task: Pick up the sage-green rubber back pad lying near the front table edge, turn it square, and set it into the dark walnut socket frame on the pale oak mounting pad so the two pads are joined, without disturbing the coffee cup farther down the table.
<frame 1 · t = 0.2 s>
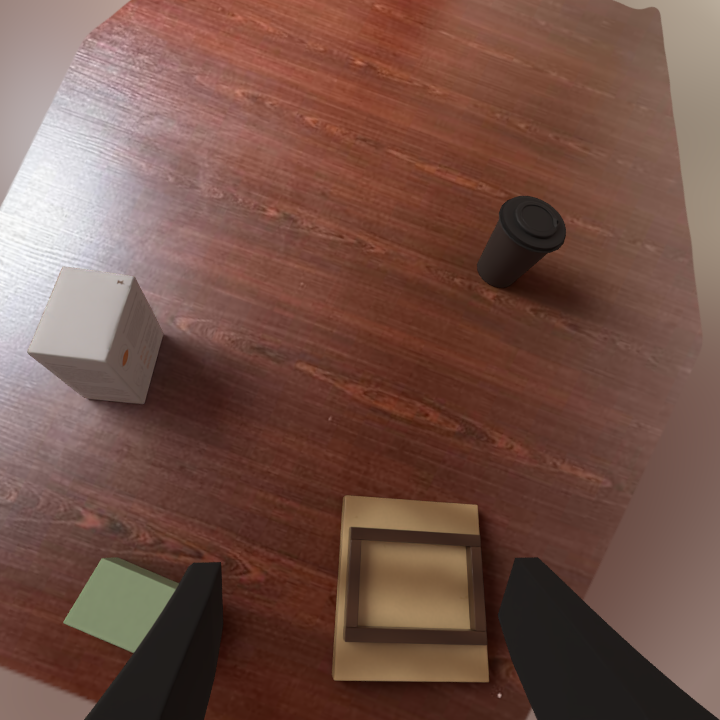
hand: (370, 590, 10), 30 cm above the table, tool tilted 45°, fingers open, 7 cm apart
coffee cup: (495, 271, 56), on the table
small box: (127, 365, 42), on the table
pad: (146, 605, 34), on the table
mounting pad: (408, 582, 38), on the table
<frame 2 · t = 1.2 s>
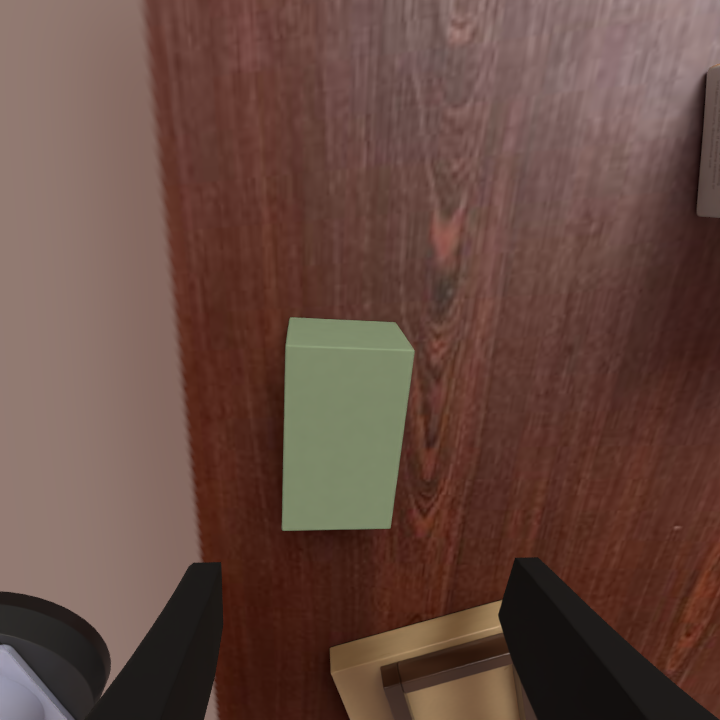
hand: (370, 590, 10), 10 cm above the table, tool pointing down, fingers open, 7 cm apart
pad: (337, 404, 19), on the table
mounting pad: (457, 681, 28), on the table
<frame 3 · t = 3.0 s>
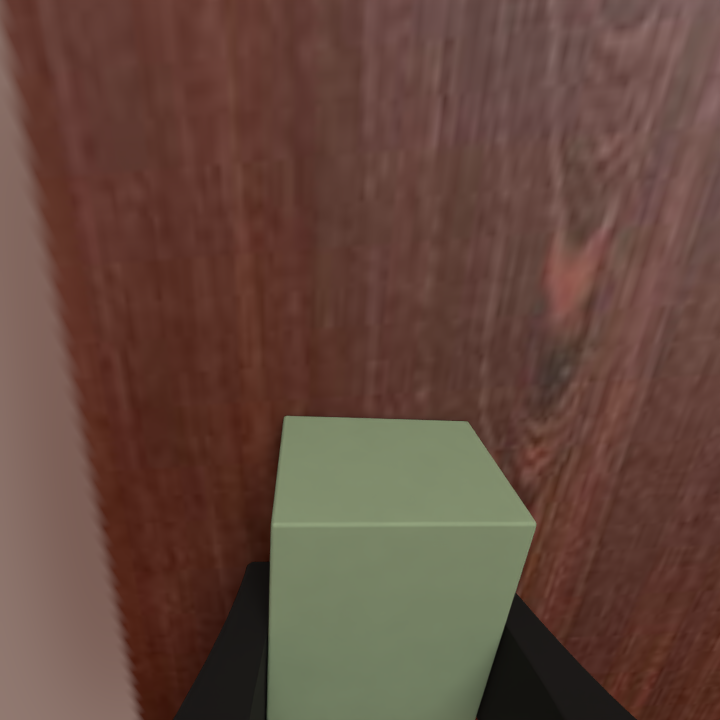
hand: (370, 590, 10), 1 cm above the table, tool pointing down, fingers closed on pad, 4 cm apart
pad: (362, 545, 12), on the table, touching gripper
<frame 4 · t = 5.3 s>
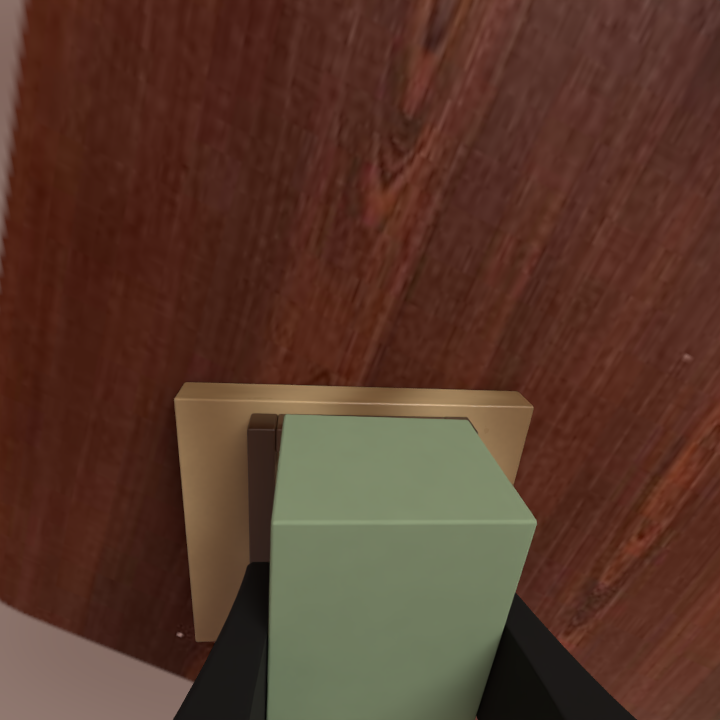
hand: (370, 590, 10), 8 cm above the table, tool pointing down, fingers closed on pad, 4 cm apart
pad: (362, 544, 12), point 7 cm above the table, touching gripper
mounting pad: (348, 510, 20), on the table
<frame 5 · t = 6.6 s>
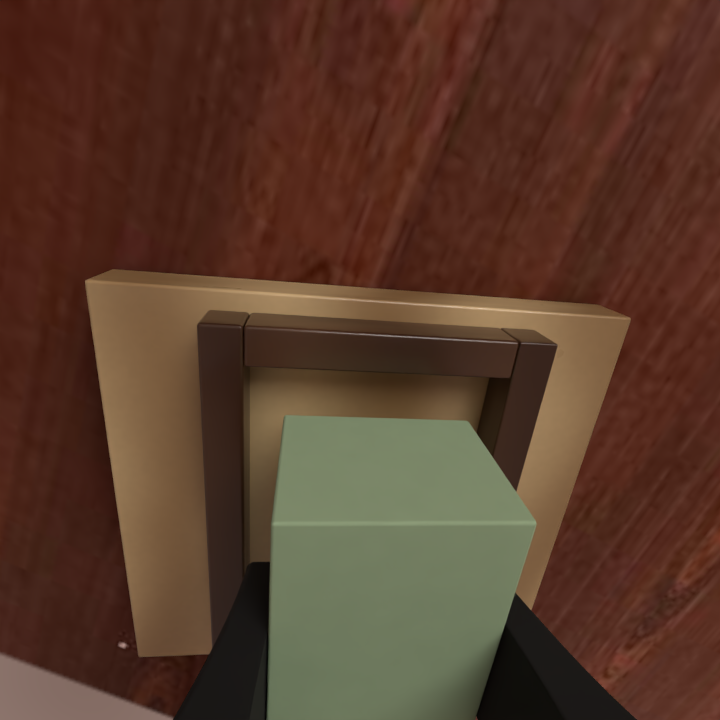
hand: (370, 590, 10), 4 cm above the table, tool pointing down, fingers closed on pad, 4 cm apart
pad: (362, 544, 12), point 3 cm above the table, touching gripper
mounting pad: (353, 476, 14), on the table
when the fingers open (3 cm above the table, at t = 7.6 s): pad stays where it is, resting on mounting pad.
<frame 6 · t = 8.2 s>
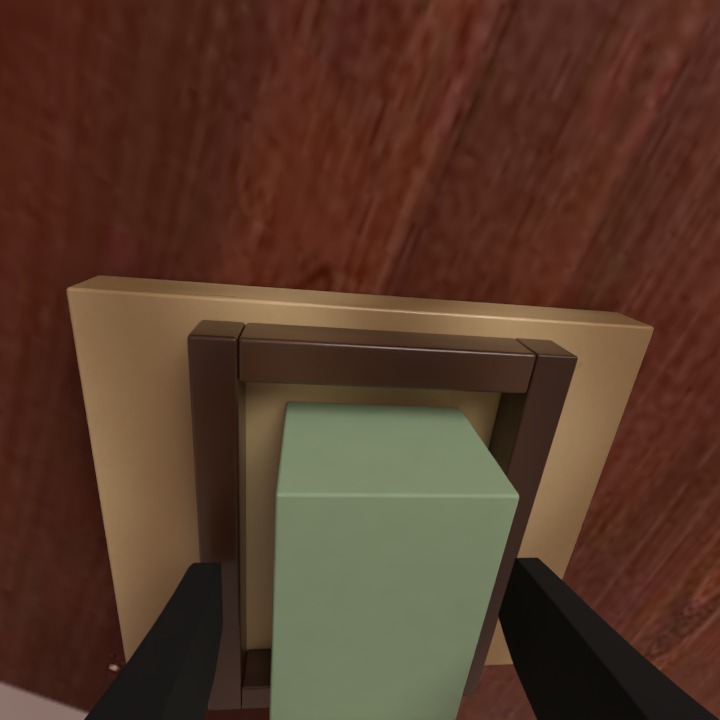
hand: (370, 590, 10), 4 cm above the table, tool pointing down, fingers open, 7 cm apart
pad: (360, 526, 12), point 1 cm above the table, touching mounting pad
mounting pad: (356, 492, 14), on the table
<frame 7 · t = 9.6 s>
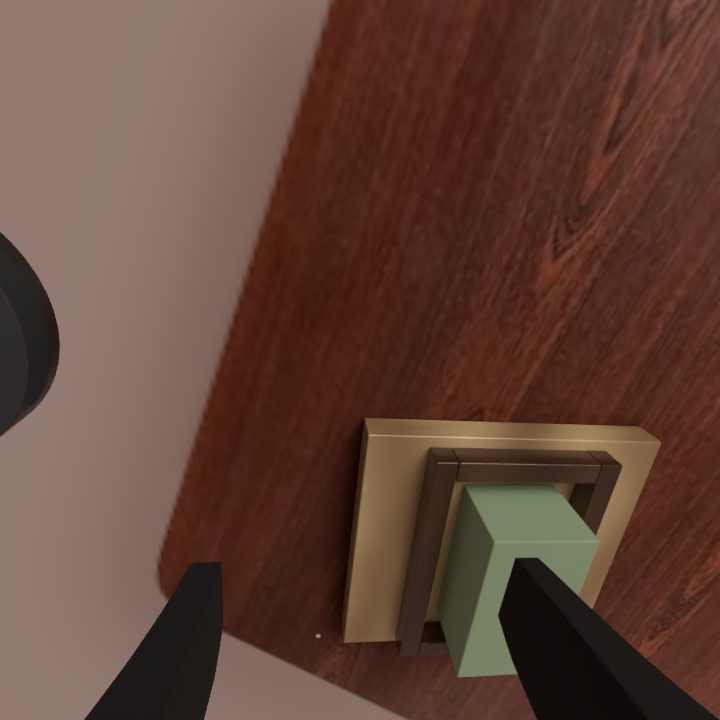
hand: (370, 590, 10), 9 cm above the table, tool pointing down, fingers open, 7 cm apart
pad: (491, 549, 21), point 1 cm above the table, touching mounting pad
mounting pad: (481, 527, 23), on the table
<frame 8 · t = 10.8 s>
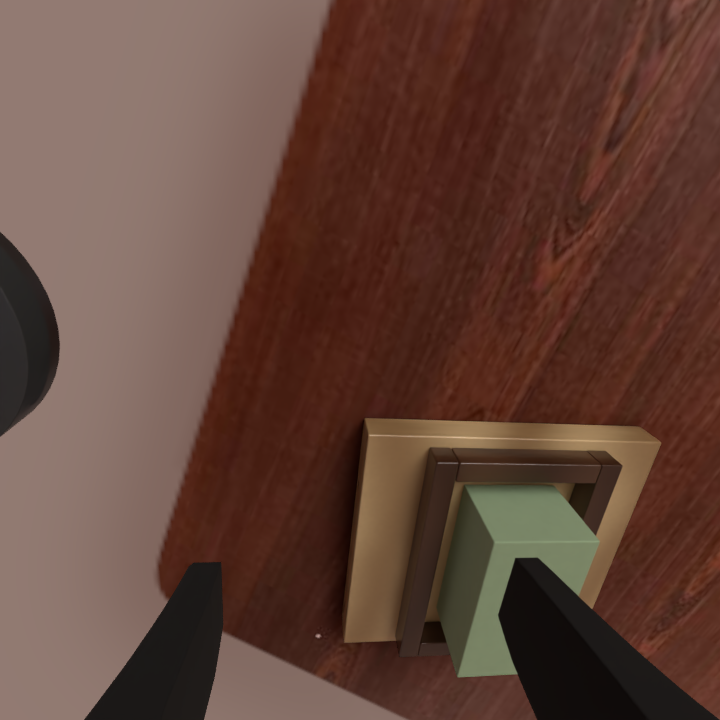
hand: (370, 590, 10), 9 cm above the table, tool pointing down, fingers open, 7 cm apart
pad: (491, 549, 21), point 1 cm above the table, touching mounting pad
mounting pad: (481, 527, 23), on the table
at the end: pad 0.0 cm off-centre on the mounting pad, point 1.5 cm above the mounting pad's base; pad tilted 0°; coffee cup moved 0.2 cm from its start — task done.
